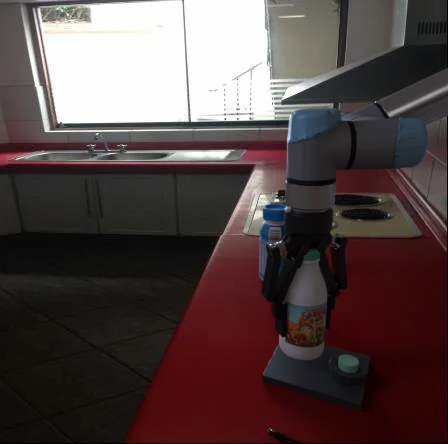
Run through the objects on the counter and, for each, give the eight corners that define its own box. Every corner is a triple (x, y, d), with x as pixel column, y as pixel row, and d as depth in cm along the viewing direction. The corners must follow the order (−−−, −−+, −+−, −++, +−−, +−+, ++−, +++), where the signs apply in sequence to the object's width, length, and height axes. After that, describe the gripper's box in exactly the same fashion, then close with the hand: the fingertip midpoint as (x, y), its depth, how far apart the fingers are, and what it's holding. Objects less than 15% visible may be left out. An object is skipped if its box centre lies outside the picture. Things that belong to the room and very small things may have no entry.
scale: (370, 362, 77) (371, 348, 76) (361, 412, 66) (362, 396, 65) (283, 340, 85) (283, 327, 85) (261, 381, 74) (262, 367, 73)
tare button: (359, 364, 73) (360, 357, 72) (356, 375, 70) (357, 367, 70) (339, 359, 75) (340, 352, 74) (336, 370, 72) (337, 362, 71)
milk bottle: (270, 348, 77) (273, 247, 71) (294, 331, 81) (299, 235, 75) (308, 367, 71) (315, 259, 65) (331, 348, 76) (340, 245, 69)
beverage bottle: (251, 276, 114) (252, 206, 108) (273, 268, 119) (275, 200, 113) (274, 287, 108) (277, 213, 101) (297, 278, 112) (300, 207, 106)
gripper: (350, 194, 73) (340, 309, 80) (240, 207, 69) (240, 327, 76) (380, 205, 66) (367, 330, 73) (260, 220, 62) (257, 350, 69)
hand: (302, 328), depth 75 cm, fingers closed on milk bottle, 8 cm apart
